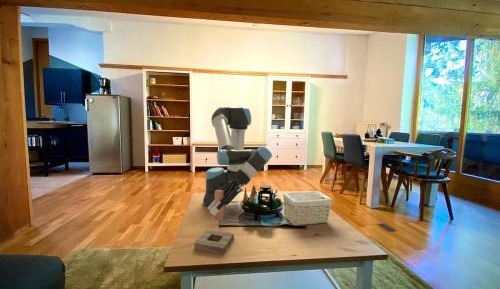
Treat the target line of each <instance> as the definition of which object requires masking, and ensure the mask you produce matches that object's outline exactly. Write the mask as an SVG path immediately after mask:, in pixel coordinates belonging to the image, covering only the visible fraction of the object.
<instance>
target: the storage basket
mask: <svg viewBox="0 0 500 289" xmlns="http://www.w3.org/2000/svg"><path fill="white" fill-rule="evenodd" d="M332 204H333V199H332V198H331V197H329V196H328V195H327V194H324V193H323V192H321V191H317V190H311V191H310V190H308V191H290V192H284V193H283V216H284V218H285V219H288V220H289V221H290V222H289V223H290V224H291V223H292V226H305V225H317V224H324V223H325V224H326V223H328V222H329V216H330V211H331V206H332Z"/></svg>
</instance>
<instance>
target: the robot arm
mask: <svg viewBox="0 0 500 289" xmlns="http://www.w3.org/2000/svg"><path fill="white" fill-rule="evenodd" d="M210 120H211V125H212V127H213V128H214V131H215V136H216V140H217V144H218V148H219V150H217V152H216V163H217V164H218V165H219V166H227V167H226V169H224V168H223V167H211V168H209V169H208V170H206V171H205V193H204V196H203V198H202V199H203V200H202V205H204V207H207V209H208V210H209V213H210V214H211V215H212V216H214V217H215V214H216V213H217V212H218V211H219V210H220V209H221V208H222V207H223V208H224V207H225V206H228V205H229V204H230V203H231V202H232V201H233V200H234V199H235V198H236V197H237V196H238V195H239V194H240V193H241V192H243V188H242V187H244V186H247V185H248V184H249V183H250V182H251V181H252V180H251V179H253V178H254V177H256V176H257V174H258V173H259V171H261V169H263V168H264V166H266V164H267V163H268V162H270V160H271V159H272V157H273V154H272V152H271V151H270V150H269V149H268V148H267V147H265V146H264V145H260V146H259V147H258V148H256V149H254V148H249V149H244V148H245V134H246V130H248V127H249V126H251V124H252V114H251V111H250V108H249V107H248V106H241V105H239V106H237V105H235V106H234V105H232V106H231V105H230V106H229V105H221V106H220V107H218V108H217V109H216V110H214V112H213V113H212V115H211V119H210ZM230 130H231V131H230ZM216 190H223V191H224V197H223V199H222V200H220V201H219V202H218V203H217V204H216V205H215V191H216Z"/></svg>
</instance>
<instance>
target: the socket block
mask: <svg viewBox="0 0 500 289" xmlns="http://www.w3.org/2000/svg"><path fill="white" fill-rule="evenodd" d="M234 240H235V233H233V232H227V231H222V230H221V231H220V230H214V229H206V230H205V231H204V232H203V233H202V234H201V235H200V236H199V237H198V239H196V240H195V242H194V243H193V245H194V246H193V248H194V249H193V250H195V251H202V252H208V253H213V254H218V255H225V254H226V252H227V250H228V249H229V247H230V246H231V245H232V242H233V241H234Z"/></svg>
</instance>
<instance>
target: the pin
mask: <svg viewBox="0 0 500 289" xmlns="http://www.w3.org/2000/svg"><path fill="white" fill-rule="evenodd" d="M223 197H224V191H223V190H216V191H215V205H216V204H217V203H218V202H219V201H220V200H222V199H223ZM223 219H224V206H223V207H222V208H221V209H220V210H219V211H218V212H217V213H216V214H215V216H214V220H215V221H222V220H223Z"/></svg>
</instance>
